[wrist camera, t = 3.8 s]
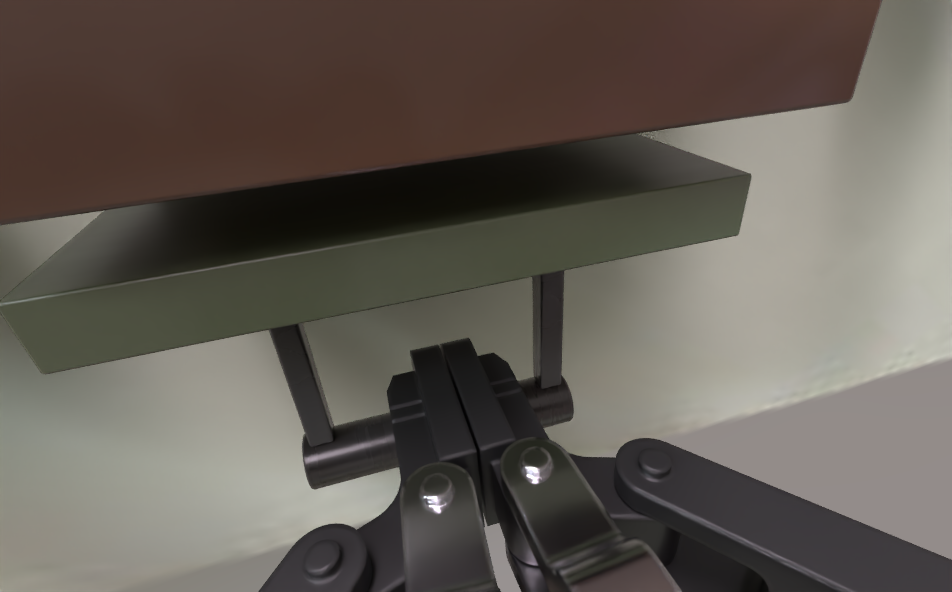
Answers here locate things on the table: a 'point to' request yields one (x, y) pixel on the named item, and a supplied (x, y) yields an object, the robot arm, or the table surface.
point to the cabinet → (377, 85)
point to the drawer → (367, 264)
